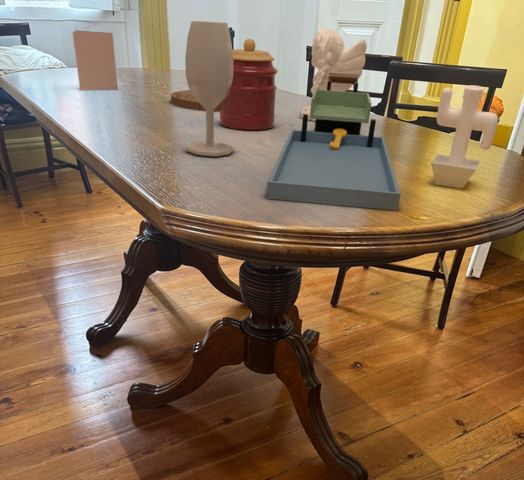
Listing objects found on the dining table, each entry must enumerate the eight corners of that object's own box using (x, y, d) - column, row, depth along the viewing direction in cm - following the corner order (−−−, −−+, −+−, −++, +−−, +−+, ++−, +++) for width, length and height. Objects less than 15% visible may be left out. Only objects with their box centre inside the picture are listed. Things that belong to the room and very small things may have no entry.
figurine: (477, 193, 84) (506, 92, 75) (419, 184, 87) (441, 85, 78) (480, 182, 89) (507, 87, 81) (425, 174, 92) (446, 81, 84)
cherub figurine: (328, 112, 143) (337, 28, 131) (359, 121, 134) (372, 31, 123) (290, 115, 136) (297, 26, 125) (320, 124, 128) (330, 29, 117)
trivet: (228, 115, 132) (228, 106, 131) (152, 102, 142) (152, 95, 141) (274, 104, 150) (275, 97, 149) (205, 94, 160) (204, 87, 159)
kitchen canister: (230, 131, 115) (231, 39, 105) (212, 120, 124) (212, 35, 115) (282, 130, 119) (289, 42, 109) (262, 119, 129) (265, 37, 119)
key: (333, 130, 107) (334, 127, 106) (347, 132, 106) (347, 129, 106) (328, 149, 103) (328, 145, 102) (342, 150, 102) (342, 147, 102)
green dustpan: (315, 101, 125) (318, 71, 122) (364, 105, 124) (369, 75, 121) (309, 118, 105) (313, 83, 102) (368, 123, 104) (373, 87, 101)
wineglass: (216, 160, 93) (216, 23, 82) (177, 152, 97) (172, 20, 85) (241, 151, 100) (244, 24, 88) (204, 144, 103) (202, 20, 91)
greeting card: (118, 89, 160) (113, 32, 151) (110, 92, 154) (104, 33, 145) (83, 86, 160) (75, 30, 152) (73, 89, 154) (65, 31, 146)
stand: (304, 131, 119) (307, 104, 116) (368, 136, 118) (373, 109, 115) (300, 144, 108) (303, 114, 105) (371, 150, 106) (376, 120, 103)
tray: (290, 142, 109) (291, 129, 107) (381, 149, 107) (383, 137, 106) (266, 198, 76) (267, 181, 75) (397, 210, 74) (400, 193, 73)
